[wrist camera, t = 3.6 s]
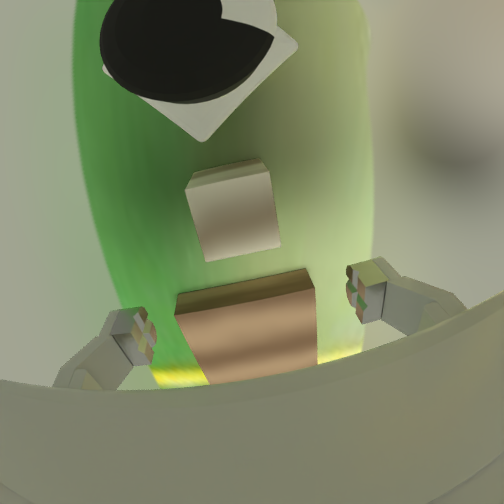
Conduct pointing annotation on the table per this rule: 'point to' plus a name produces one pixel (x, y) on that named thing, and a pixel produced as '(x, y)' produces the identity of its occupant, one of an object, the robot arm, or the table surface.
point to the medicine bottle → (193, 55)
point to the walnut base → (251, 327)
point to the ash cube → (233, 209)
